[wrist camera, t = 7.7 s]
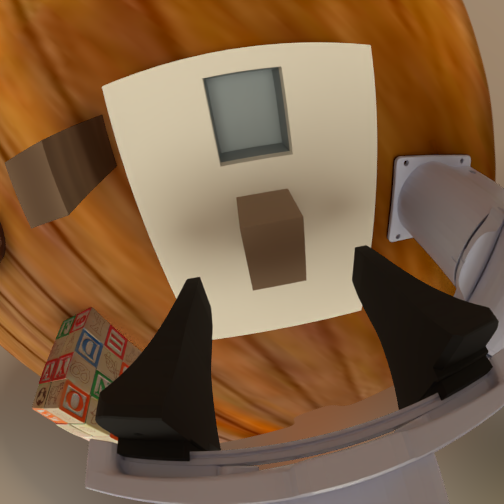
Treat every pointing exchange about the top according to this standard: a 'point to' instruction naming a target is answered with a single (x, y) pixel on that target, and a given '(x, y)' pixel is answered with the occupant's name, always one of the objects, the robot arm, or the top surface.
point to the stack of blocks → (82, 373)
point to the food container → (2, 243)
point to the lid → (256, 183)
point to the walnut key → (61, 170)
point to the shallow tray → (247, 113)
